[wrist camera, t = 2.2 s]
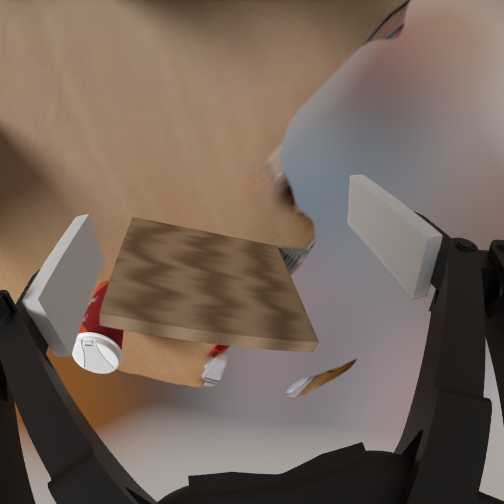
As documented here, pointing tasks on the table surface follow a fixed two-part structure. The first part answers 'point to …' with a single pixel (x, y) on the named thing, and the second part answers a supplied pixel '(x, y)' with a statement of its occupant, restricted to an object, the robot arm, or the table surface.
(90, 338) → the paper cup
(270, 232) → the table surface
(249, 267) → the board
